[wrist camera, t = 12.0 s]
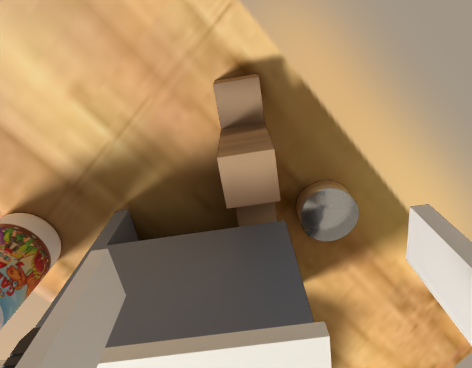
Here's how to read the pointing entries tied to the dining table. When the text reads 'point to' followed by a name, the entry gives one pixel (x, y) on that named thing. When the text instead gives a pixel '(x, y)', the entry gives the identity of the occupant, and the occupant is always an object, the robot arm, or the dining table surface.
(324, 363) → the cabinet
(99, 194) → the dining table surface
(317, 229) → the puck
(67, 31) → the dining table surface
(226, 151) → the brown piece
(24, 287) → the milk bottle
